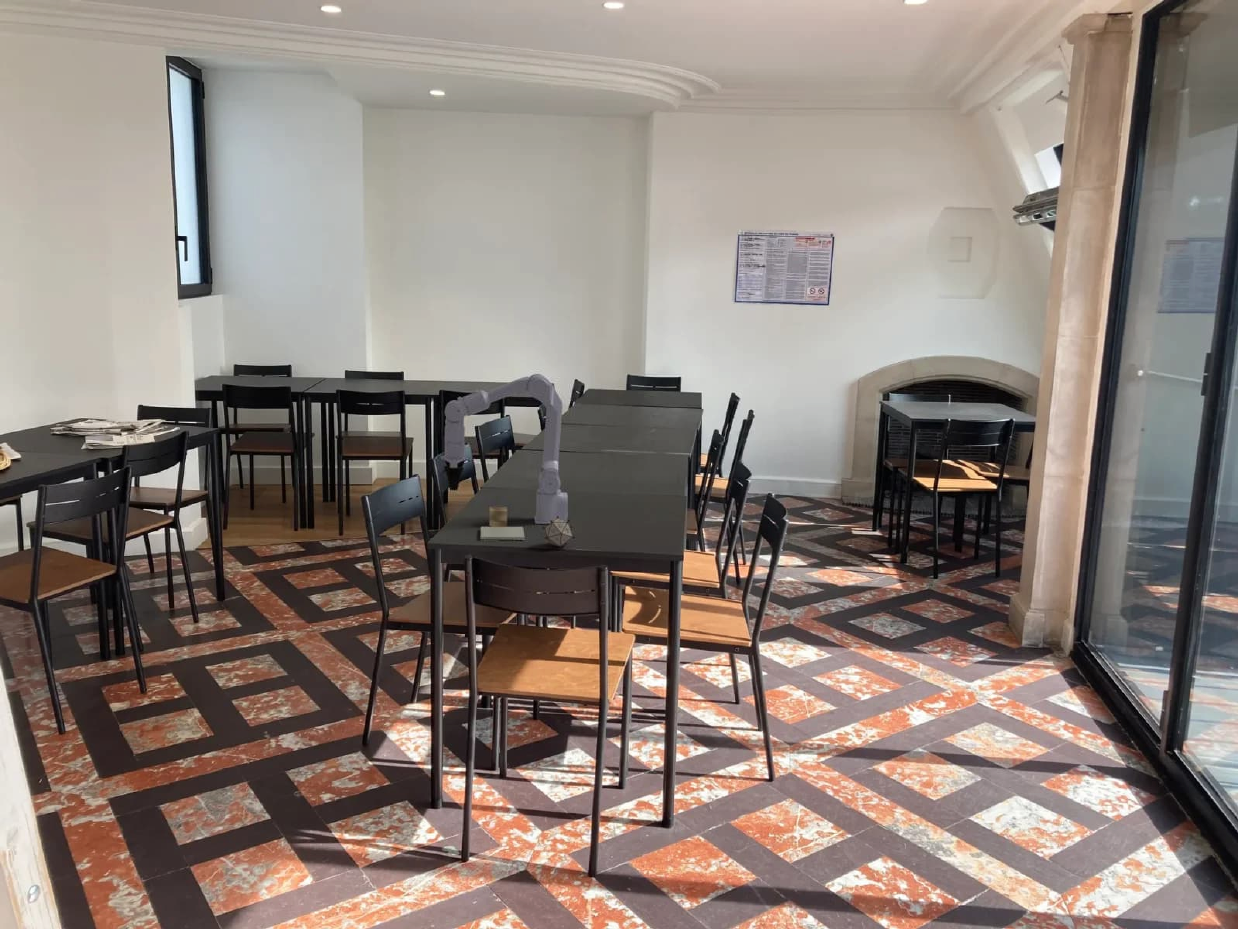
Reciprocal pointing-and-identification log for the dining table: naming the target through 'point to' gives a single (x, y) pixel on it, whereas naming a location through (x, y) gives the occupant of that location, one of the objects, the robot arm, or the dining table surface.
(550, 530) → the game die
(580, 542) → the dining table surface
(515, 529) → the sage tile
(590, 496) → the dining table surface
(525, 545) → the dining table surface
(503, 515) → the maple block
